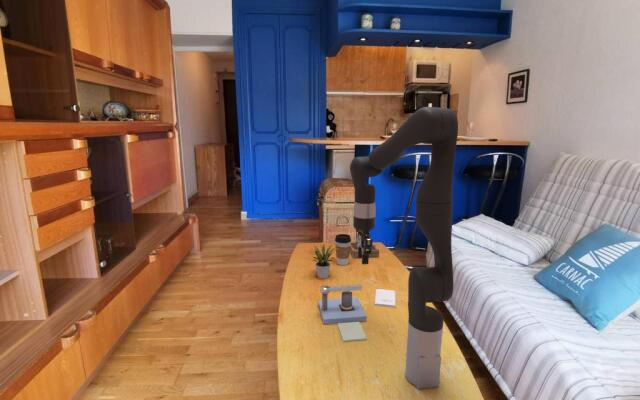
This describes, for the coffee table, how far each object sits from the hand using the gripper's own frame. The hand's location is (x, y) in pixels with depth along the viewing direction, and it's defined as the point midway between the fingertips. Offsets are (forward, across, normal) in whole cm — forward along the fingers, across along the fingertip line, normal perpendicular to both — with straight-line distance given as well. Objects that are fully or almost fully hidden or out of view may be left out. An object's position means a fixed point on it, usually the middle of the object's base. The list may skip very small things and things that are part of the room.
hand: (362, 260), depth 124 cm
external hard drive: (+24, +14, -14) cm, 31 cm away
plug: (+23, +6, +4) cm, 25 cm away
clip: (+14, +6, +7) cm, 17 cm away
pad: (+23, -7, +5) cm, 25 cm away
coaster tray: (+23, +65, -18) cm, 71 cm away
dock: (+23, +6, +6) cm, 25 cm away
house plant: (+24, +39, +7) cm, 46 cm away
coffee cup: (+24, +53, -4) cm, 58 cm away
